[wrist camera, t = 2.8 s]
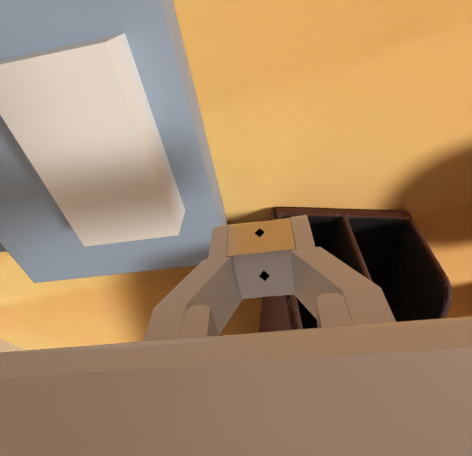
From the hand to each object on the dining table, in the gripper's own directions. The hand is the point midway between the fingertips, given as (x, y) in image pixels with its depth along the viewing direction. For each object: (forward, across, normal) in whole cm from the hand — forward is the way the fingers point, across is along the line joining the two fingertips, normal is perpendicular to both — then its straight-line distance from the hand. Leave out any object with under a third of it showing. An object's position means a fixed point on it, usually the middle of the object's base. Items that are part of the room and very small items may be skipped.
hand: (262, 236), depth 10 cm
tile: (+9, +8, -1) cm, 12 cm away
